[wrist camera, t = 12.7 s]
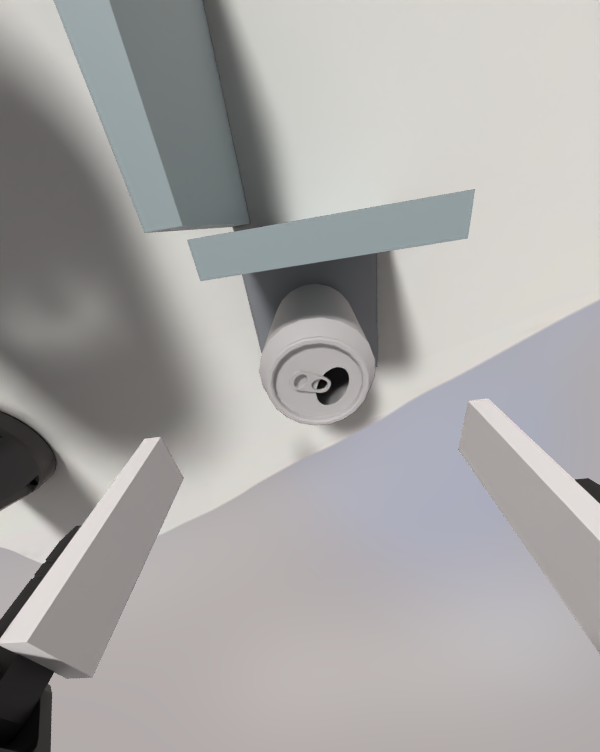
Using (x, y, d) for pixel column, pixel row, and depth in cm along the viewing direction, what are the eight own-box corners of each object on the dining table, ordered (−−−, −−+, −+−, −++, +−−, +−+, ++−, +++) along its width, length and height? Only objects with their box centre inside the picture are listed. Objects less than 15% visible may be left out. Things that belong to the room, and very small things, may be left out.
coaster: (268, 376, 30) (268, 379, 30) (241, 264, 24) (239, 265, 24) (376, 363, 29) (377, 366, 28) (374, 242, 23) (376, 242, 22)
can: (334, 364, 28) (349, 447, 18) (266, 342, 27) (242, 416, 17) (365, 297, 25) (406, 353, 14) (289, 269, 24) (275, 308, 13)
